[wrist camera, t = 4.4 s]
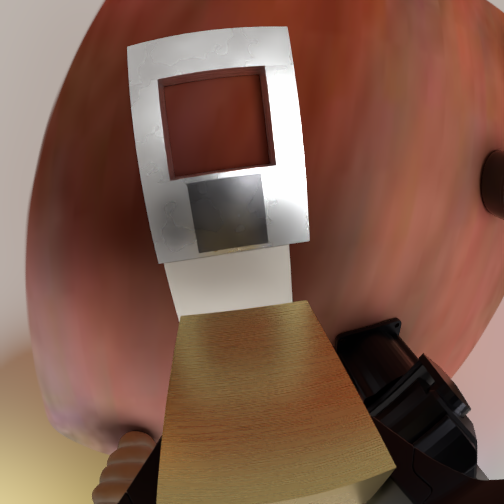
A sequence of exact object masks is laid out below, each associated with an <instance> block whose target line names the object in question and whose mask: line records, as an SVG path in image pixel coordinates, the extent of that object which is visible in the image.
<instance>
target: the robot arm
mask: <svg viewBox="0 0 504 504" xmlns="http://www.w3.org/2000/svg"><path fill="white" fill-rule="evenodd" d="M400 328H401V321H400V320H399V319H393V320H389V321H386V322H383V323H379V324H376V325H372V326H369V327H365V328H362V329H358V330H354V331H350V332H346V333H342V334H340V335H338V336H337V337H336V342H335V352H336V354H337V355H338V357H339V359H340V361H341V363H342V364H343V366H344V368H345V370H346V372H347V374H348V375H349V377H350V379H351V381H352V383H353V385H354V387H355V388H356V390H357V392H358V394H359V396H360V398H361V400H362V402H363V403H364V405H365V407H366V409H367V411H368V413H369V415H370V417H371V419H372V421H373V422H374V424H375V426H376V428H377V430H378V432H379V434H380V436H381V438H382V440H383V442H384V444H385V446H386V448H387V450H388V451H389V453H390V455H391V457H392V459H393V461H394V463H395V465H396V468H395V470H394V471H393V472H392V474H391V475H390V476H389V477H388V479H387V480H386V481H385V482H384V484H383V485H382V486H381V487H380V488H379V489H378V491H377V492H376V493H375V494H374V495H373V496H372V497H371V499H370V500H369V501H368V502H367V503H366V504H504V479H502V480H489V479H488V478H487V476H486V475H485V474H484V473H483V472H482V470H481V469H480V468H479V466H478V465H477V439H476V435H475V430H474V426H473V423H472V422H471V421H470V419H469V418H468V417H467V416H466V414H467V413H468V412H469V411H470V410H471V408H470V406H469V405H468V403H467V401H466V400H465V398H464V397H463V395H462V393H461V392H460V390H459V389H458V387H457V386H456V384H455V383H454V382H453V381H452V380H451V379H450V377H449V376H448V375H447V374H446V373H445V372H444V371H443V370H442V369H441V368H440V367H439V366H438V365H437V364H436V363H434V362H433V361H432V360H431V359H430V358H428V357H427V356H426V355H425V354H422V355H421V356H420V357H419V358H417V357H416V356H415V354H414V353H413V352H412V351H411V350H410V348H409V347H408V346H407V345H406V344H405V343H404V341H403V340H402V339H401V338H400V337H399V333H400ZM342 339H343V340H342ZM161 443H162V436H161V438H160V439H159V441H158V443H157V444H156V446H155V447H154V449H153V450H152V452H151V454H150V455H149V457H148V458H147V460H146V461H145V463H144V464H143V466H142V467H141V469H140V471H139V472H138V474H137V475H136V477H135V478H134V480H133V481H132V483H131V484H130V486H129V487H128V489H127V490H126V492H125V493H124V495H123V496H122V498H121V499H120V501H119V502H118V503H117V504H156V501H157V487H158V474H159V463H160V452H161Z"/></svg>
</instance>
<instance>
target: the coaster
mask: <svg viewBox="0 0 504 504" xmlns="http://www.w3.org/2000/svg"><path fill="white" fill-rule="evenodd" d="M164 267H165V271H166V275H167V279H168V283H169V287H170V290H171V294H172V298H173V301H174V305H175V309H176V312H177V316H178V319H179V322H180V317H181V316H184V315H195V314H204V313H214V312H223V311H231V310H239V309H247V308H255V307H263V306H270V305H277V304H284V303H291V302H292V285H291V268H290V252H289V244H286V245H279V246H273V247H266V248H259V249H253V250H246V251H240V252H233V253H226V254H220V255H213V256H206V257H200V258H193V259H187V260H180V261H174V262H167V263H164Z"/></svg>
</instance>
